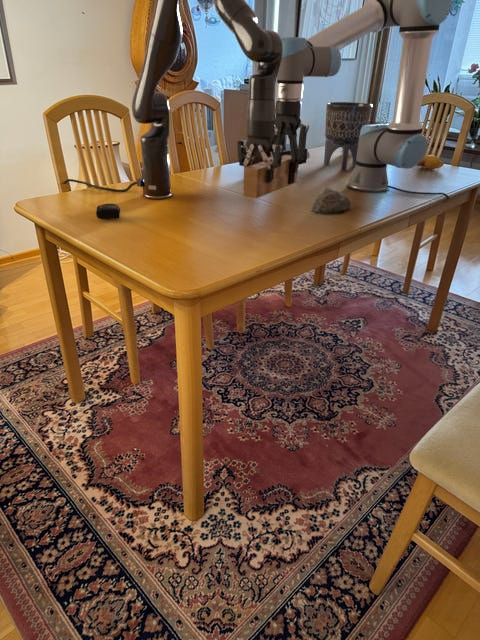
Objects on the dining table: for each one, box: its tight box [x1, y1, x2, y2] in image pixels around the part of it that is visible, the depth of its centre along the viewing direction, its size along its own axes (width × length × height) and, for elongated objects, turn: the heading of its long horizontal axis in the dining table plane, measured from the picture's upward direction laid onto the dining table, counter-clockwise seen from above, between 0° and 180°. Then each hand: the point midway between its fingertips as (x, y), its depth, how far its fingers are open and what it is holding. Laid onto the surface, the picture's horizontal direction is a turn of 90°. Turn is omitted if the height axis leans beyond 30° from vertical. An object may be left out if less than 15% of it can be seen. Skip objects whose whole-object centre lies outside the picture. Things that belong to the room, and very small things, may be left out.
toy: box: [416, 154, 445, 171], centre depth 211 cm, size 11×6×15 cm
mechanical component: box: [238, 125, 311, 168], centre depth 191 cm, size 22×21×30 cm
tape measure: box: [95, 203, 121, 221], centre depth 137 cm, size 7×7×4 cm
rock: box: [312, 187, 352, 214], centre depth 148 cm, size 13×9×6 cm, turn 131°
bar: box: [242, 155, 299, 199], centre depth 136 cm, size 24×4×8 cm, turn 146°
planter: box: [323, 101, 374, 172], centre depth 204 cm, size 20×20×26 cm
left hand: (258, 180), depth 130 cm, fingers open, 6 cm apart
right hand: (283, 181), depth 143 cm, fingers closed on bar, 5 cm apart
